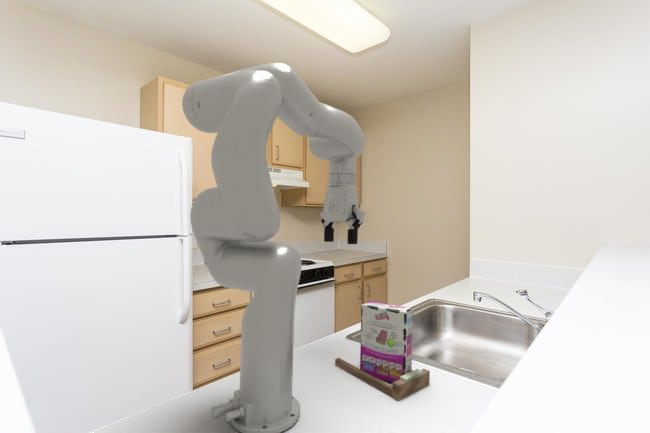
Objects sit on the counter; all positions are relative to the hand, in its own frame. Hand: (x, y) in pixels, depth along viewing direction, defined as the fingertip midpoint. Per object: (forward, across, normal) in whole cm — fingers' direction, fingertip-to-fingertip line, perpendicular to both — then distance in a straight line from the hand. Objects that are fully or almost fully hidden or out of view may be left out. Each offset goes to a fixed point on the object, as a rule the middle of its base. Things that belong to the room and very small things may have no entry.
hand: (340, 242), depth 90 cm
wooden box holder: (+30, +17, -1) cm, 34 cm away
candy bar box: (+30, +18, -1) cm, 35 cm away
